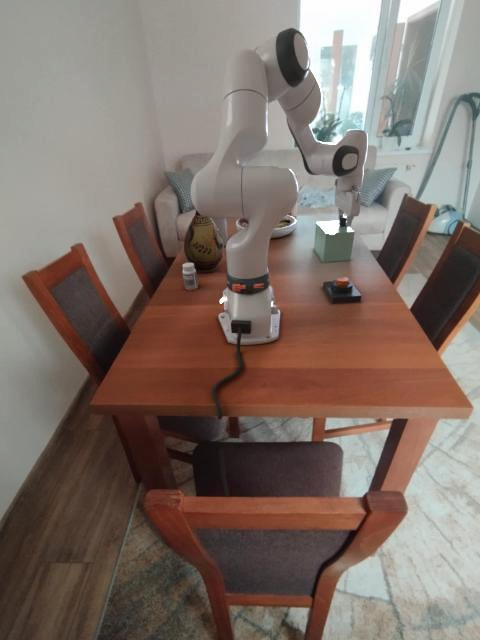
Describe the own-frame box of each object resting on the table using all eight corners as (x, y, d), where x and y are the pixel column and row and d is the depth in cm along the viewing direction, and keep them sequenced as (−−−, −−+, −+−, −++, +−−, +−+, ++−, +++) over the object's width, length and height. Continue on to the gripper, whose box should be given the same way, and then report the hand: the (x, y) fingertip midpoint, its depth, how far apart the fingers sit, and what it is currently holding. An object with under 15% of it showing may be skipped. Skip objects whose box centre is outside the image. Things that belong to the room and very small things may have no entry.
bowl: (304, 226, 170) (305, 209, 165) (281, 243, 150) (282, 225, 145) (252, 221, 182) (252, 205, 177) (225, 237, 162) (224, 220, 157)
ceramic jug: (225, 275, 125) (217, 186, 106) (185, 277, 125) (170, 189, 107) (226, 258, 138) (219, 177, 120) (190, 260, 139) (177, 180, 120)
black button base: (360, 301, 103) (362, 290, 101) (332, 304, 103) (333, 292, 101) (348, 285, 113) (350, 274, 110) (322, 287, 112) (323, 276, 110)
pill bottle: (192, 283, 120) (188, 261, 115) (201, 286, 118) (197, 263, 113) (182, 288, 117) (178, 265, 112) (191, 291, 115) (187, 268, 110)
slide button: (347, 225, 129) (349, 217, 127) (340, 226, 129) (341, 218, 127) (346, 224, 131) (347, 216, 129) (338, 224, 131) (339, 216, 129)
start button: (349, 286, 104) (350, 281, 103) (338, 287, 104) (339, 281, 103) (346, 281, 107) (346, 276, 106) (335, 282, 107) (335, 277, 106)
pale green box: (351, 262, 129) (356, 232, 122) (324, 264, 129) (327, 234, 122) (338, 247, 143) (342, 220, 136) (313, 248, 143) (316, 221, 136)
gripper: (368, 188, 113) (361, 230, 121) (349, 178, 129) (344, 216, 137) (350, 189, 113) (344, 231, 121) (333, 179, 129) (329, 217, 137)
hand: (344, 223), depth 130 cm, fingers open, 8 cm apart
